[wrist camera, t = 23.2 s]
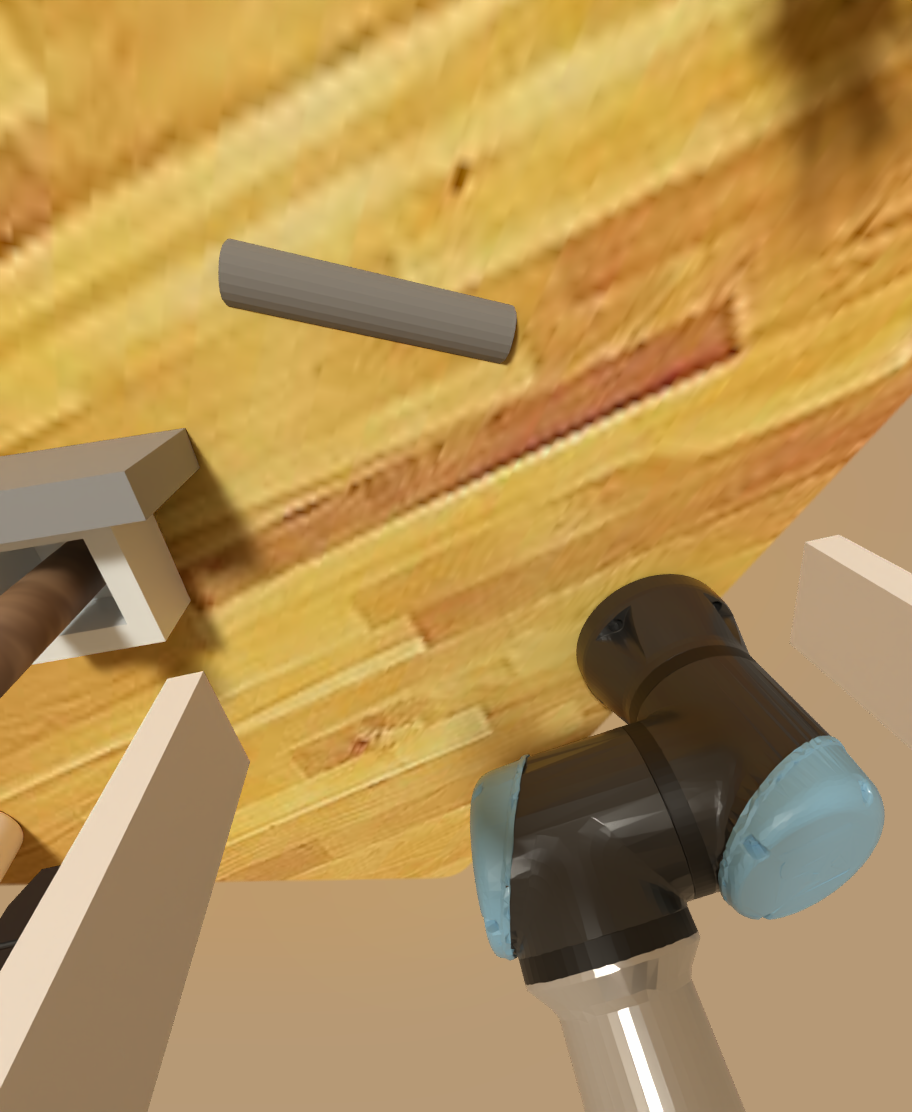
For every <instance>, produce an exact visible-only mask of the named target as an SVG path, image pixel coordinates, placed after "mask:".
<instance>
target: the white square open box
mask: <svg viewBox="0 0 912 1112" xmlns="http://www.w3.org/2000/svg"><path fill="white" fill-rule="evenodd" d="M78 539H84V541H85V543H86V545H87V547H88V549H89V551H90V553H91V555H92V557H93V559H94V561H95V563H96V565H97V567H98V568H99V570H100V572H101V574H102V576H103V578H104V580H105V582H106V585H105V586H104V587H103V588H102V589H101V590H100V591H99V592H98V594H97V595H96V596H95V597H94V598H93V599H92V600H91V601H90V602H89V603H88V604H87V605H86V606H85V608H84V609H83V610H82V611H81V612H80V613H79V614H78V615H77V616H76V617H75V618H74V619H73V620H72V622H71V623H70V624H69V625H68V626H67V627H66V628H65V629H64V630H63V631H62V632H61V633H60V634H59V636H58V637H57V638H56V639H55V640H54V641H53V642H52V643H51V644H50V645H49V646H48V647H47V648H46V650H45V651H44V652H43V653H42V654H41V655H40V656H39V657H38V658H37V659H36V660H35V661H34V662H33V664H38V663H44V662H50V661H56V660H61V659H67V658H73V657H79V656H84V655H90V654H96V653H102V652H107V651H113V650H119V649H125V648H131V647H136V646H142V645H148V644H154V643H159V642H165V641H166V640H167V639H168V637H169V635H170V634H171V632H172V630H173V629H174V627H175V626H176V624H177V622H178V621H179V619H180V618H181V616H182V614H183V613H184V611H185V609H186V608H187V606H188V605H189V603H190V601H191V600H190V598H189V595H188V593H187V591H186V589H185V586H184V584H183V582H182V579H181V577H180V575H179V572H178V570H177V568H176V566H175V563H174V561H173V559H172V556H171V554H170V552H169V550H168V547H167V545H166V543H165V540H164V538H163V536H162V534H161V531H160V529H159V527H158V524H157V522H156V520H155V517H154V515H153V514H152V515H151V516H150V517H149V518H148V519H147V520H145V521H139V522H133V523H127V524H121V525H115V526H109V527H102V528H96V529H90V530H84V531H78V532H72V533H65V534H59V535H53V536H47V537H41V538H35V539H29V540H22V541H16V542H10V543H4V544H0V595H2V594H3V593H4V592H5V591H7V590H8V589H9V588H10V587H11V586H13V585H14V584H15V583H16V582H18V581H19V580H20V579H21V578H23V577H24V576H25V575H26V574H28V573H29V572H30V571H31V570H32V569H34V568H35V567H36V566H37V565H39V564H40V563H41V562H42V561H44V560H45V559H46V558H47V557H48V556H50V555H51V554H52V553H53V552H55V551H56V550H57V549H58V548H60V547H61V546H62V545H63V544H64V543H66V542H67V541H72V540H78Z"/></svg>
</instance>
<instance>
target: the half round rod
mask: <svg viewBox="0 0 912 1112" xmlns="http://www.w3.org/2000/svg"><path fill="white" fill-rule="evenodd" d="M219 288H220V293H221V297H222V299H223V301H224V302H225V303H226V305H228V306H230V307H235V308H240V309H245V310H249V311H254V312H259V313H264V314H268V315H273V316H278V317H282V318H287V319H292V320H297V321H301V322H306V323H311V324H316V325H320V326H325V327H330V328H334V329H339V330H344V331H349V332H353V333H358V334H363V335H368V336H372V337H377V338H382V339H386V340H391V341H396V342H401V343H405V344H410V345H415V346H420V347H424V348H429V349H434V350H438V351H443V352H448V353H453V354H457V355H462V356H467V357H472V358H476V359H481V360H486V361H490V362H495V363H502V362H503V361H504V360H505V359H506V357H507V356H508V354H509V351H510V348H511V346H512V342H513V338H514V334H515V328H516V321H517V319H516V311H515V308H514V306H512V305H508V304H504V303H500V302H496V301H491V300H487V299H483V298H479V297H475V296H470V295H466V294H462V293H458V292H453V291H449V290H445V289H441V288H436V287H432V286H428V285H424V284H420V283H415V282H411V281H407V280H403V279H398V278H394V277H390V276H386V275H381V274H377V273H373V272H369V271H365V270H360V269H356V268H352V267H348V266H343V265H339V264H335V263H331V262H327V261H322V260H318V259H314V258H310V257H305V256H301V255H297V254H293V253H288V252H284V251H280V250H276V249H272V248H267V247H263V246H259V245H255V244H250V243H246V242H242V241H238V240H233V239H227V240H226V241H225V242H224V244H223V245H222V248H221V251H220V258H219Z"/></svg>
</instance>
